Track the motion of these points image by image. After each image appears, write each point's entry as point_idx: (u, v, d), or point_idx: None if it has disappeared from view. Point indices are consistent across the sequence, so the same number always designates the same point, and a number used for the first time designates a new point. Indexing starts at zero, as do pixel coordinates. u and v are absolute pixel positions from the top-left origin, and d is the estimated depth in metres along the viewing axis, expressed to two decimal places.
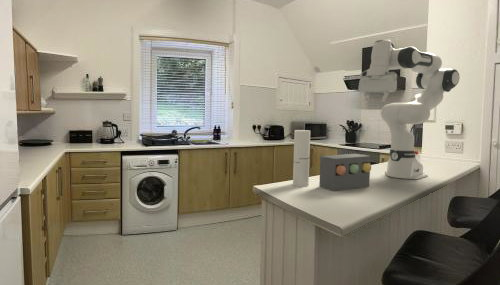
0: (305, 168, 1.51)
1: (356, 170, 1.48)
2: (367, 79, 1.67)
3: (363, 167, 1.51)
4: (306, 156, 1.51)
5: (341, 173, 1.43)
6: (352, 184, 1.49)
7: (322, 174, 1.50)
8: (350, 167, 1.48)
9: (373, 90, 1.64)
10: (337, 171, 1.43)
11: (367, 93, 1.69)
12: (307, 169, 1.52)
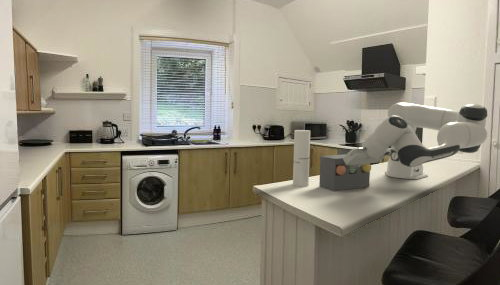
0: (305, 168, 1.51)
1: (353, 170, 1.49)
2: None
3: (363, 167, 1.51)
4: (306, 156, 1.51)
5: (341, 173, 1.43)
6: (352, 184, 1.49)
7: (322, 174, 1.50)
8: None
9: None
10: (337, 171, 1.43)
11: None
12: (307, 169, 1.52)
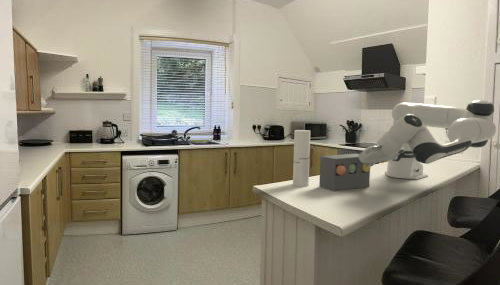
0: (305, 168, 1.51)
1: (353, 170, 1.49)
2: None
3: (362, 167, 1.52)
4: (306, 156, 1.51)
5: (341, 173, 1.43)
6: (352, 184, 1.49)
7: (322, 174, 1.50)
8: None
9: None
10: (337, 171, 1.43)
11: None
12: (307, 169, 1.52)
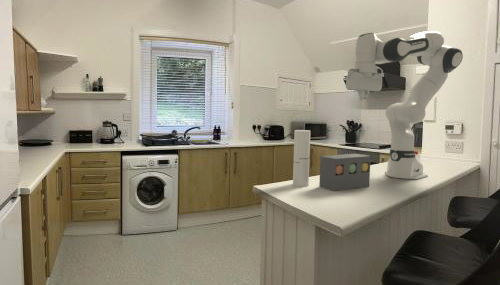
0: (305, 168, 1.51)
1: (353, 170, 1.49)
2: None
3: None
4: (306, 156, 1.51)
5: (338, 172, 1.45)
6: (352, 184, 1.49)
7: (322, 174, 1.50)
8: None
9: None
10: None
11: (365, 91, 1.56)
12: (307, 169, 1.52)
